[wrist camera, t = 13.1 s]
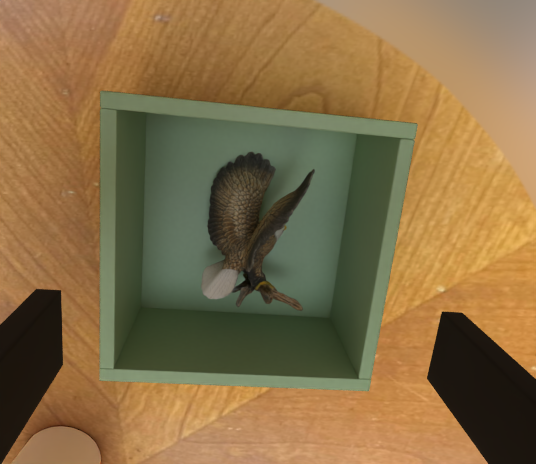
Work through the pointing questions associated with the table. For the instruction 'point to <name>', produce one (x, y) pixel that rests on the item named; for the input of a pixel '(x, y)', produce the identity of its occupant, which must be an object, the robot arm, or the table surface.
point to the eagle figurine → (246, 229)
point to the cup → (59, 448)
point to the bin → (274, 263)
